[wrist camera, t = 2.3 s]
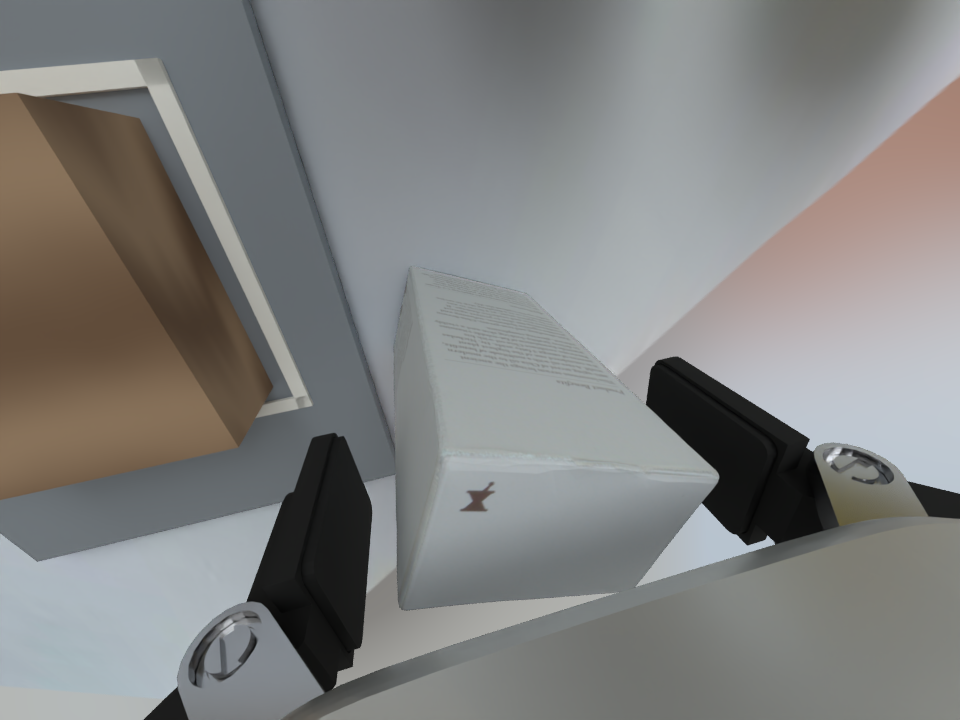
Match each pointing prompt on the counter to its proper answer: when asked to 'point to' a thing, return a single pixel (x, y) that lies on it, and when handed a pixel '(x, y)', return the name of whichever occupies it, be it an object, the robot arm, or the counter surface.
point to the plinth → (107, 308)
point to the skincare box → (522, 455)
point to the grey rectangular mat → (227, 241)
